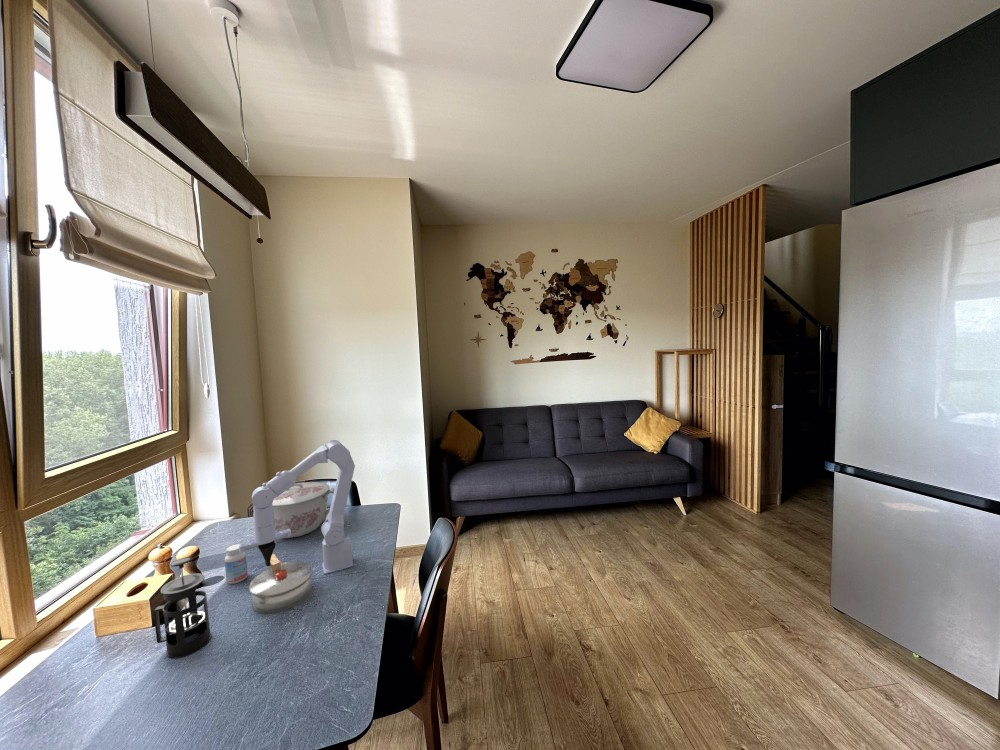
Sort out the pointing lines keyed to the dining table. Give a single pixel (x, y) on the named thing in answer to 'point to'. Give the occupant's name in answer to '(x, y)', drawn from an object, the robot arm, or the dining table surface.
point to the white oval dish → (282, 599)
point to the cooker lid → (280, 578)
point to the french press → (183, 614)
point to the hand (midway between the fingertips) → (267, 565)
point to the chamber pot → (301, 508)
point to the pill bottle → (235, 565)
